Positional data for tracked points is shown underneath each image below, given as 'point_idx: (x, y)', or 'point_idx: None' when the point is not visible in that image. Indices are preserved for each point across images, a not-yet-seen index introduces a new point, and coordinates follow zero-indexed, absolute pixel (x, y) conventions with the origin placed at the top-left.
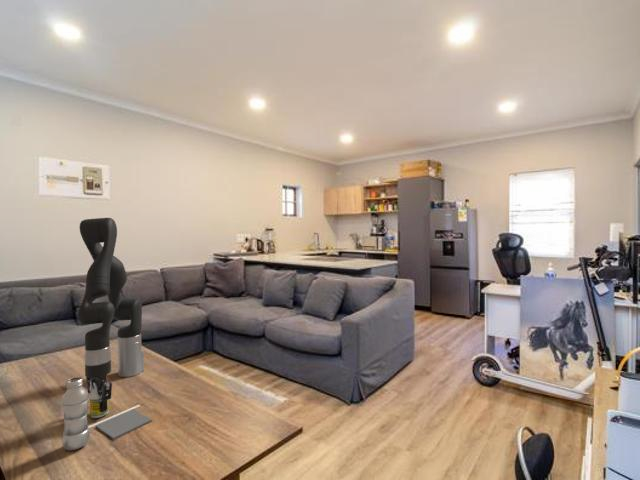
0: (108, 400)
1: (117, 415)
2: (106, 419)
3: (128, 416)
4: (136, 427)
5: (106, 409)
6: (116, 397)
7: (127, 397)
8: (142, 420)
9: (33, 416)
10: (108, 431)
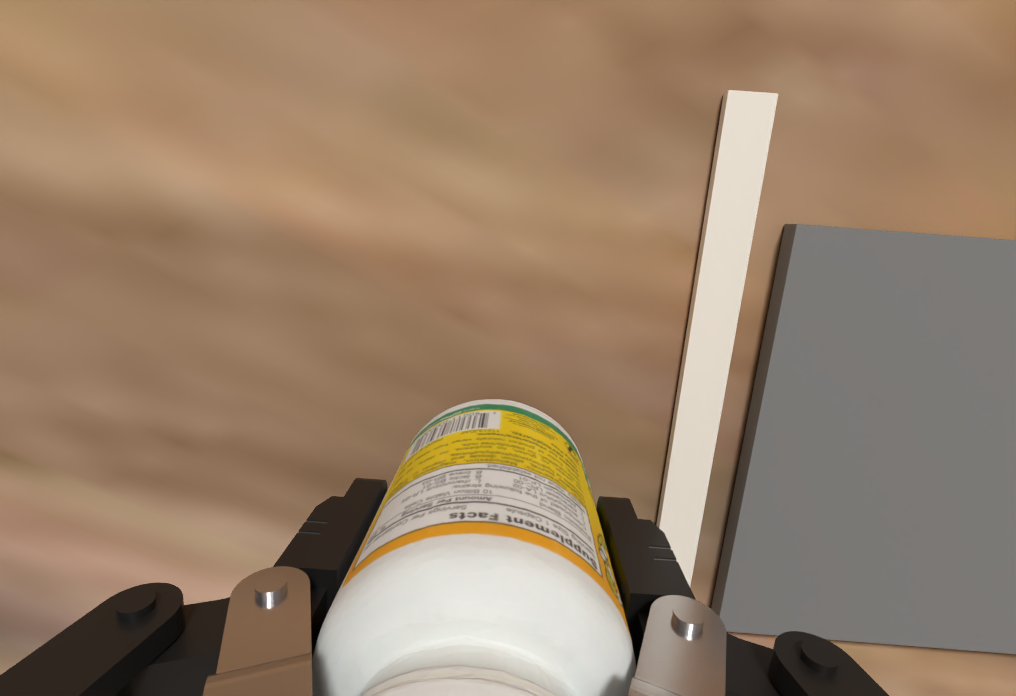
0: (560, 487)
1: (717, 401)
2: (685, 507)
3: (901, 365)
4: None
5: (650, 527)
6: (187, 118)
7: (326, 27)
8: None
9: None
10: (958, 629)
